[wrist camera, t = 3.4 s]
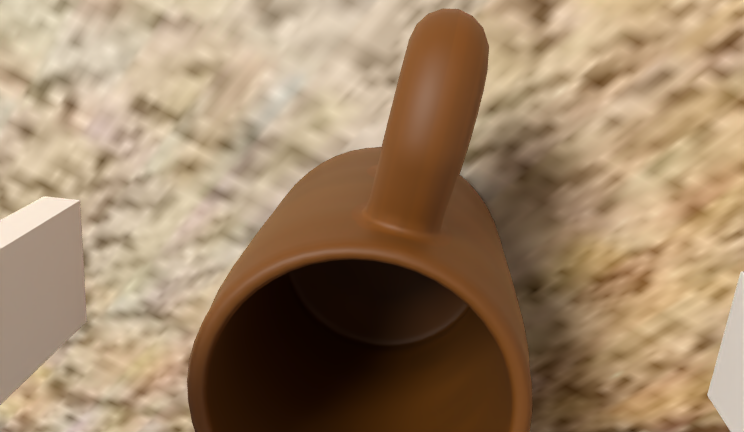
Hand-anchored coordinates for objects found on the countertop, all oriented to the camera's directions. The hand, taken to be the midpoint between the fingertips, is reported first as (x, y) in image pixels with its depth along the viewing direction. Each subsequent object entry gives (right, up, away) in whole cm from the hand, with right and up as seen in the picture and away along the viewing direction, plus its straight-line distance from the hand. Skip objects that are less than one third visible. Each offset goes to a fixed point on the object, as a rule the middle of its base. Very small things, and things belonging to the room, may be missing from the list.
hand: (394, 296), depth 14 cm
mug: (0, +2, +9) cm, 9 cm away
